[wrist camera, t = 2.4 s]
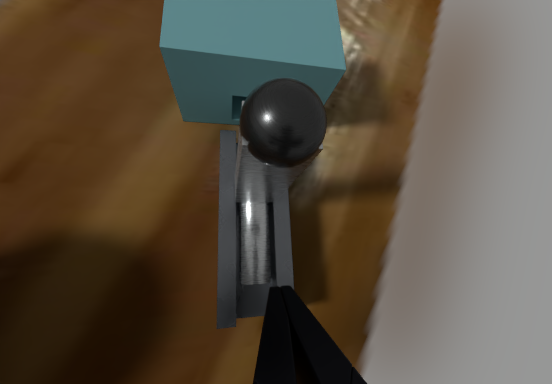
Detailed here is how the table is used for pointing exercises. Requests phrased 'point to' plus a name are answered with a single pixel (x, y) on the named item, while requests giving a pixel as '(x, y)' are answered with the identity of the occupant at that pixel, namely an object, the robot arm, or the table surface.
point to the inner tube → (272, 161)
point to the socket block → (247, 51)
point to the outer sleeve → (230, 293)
